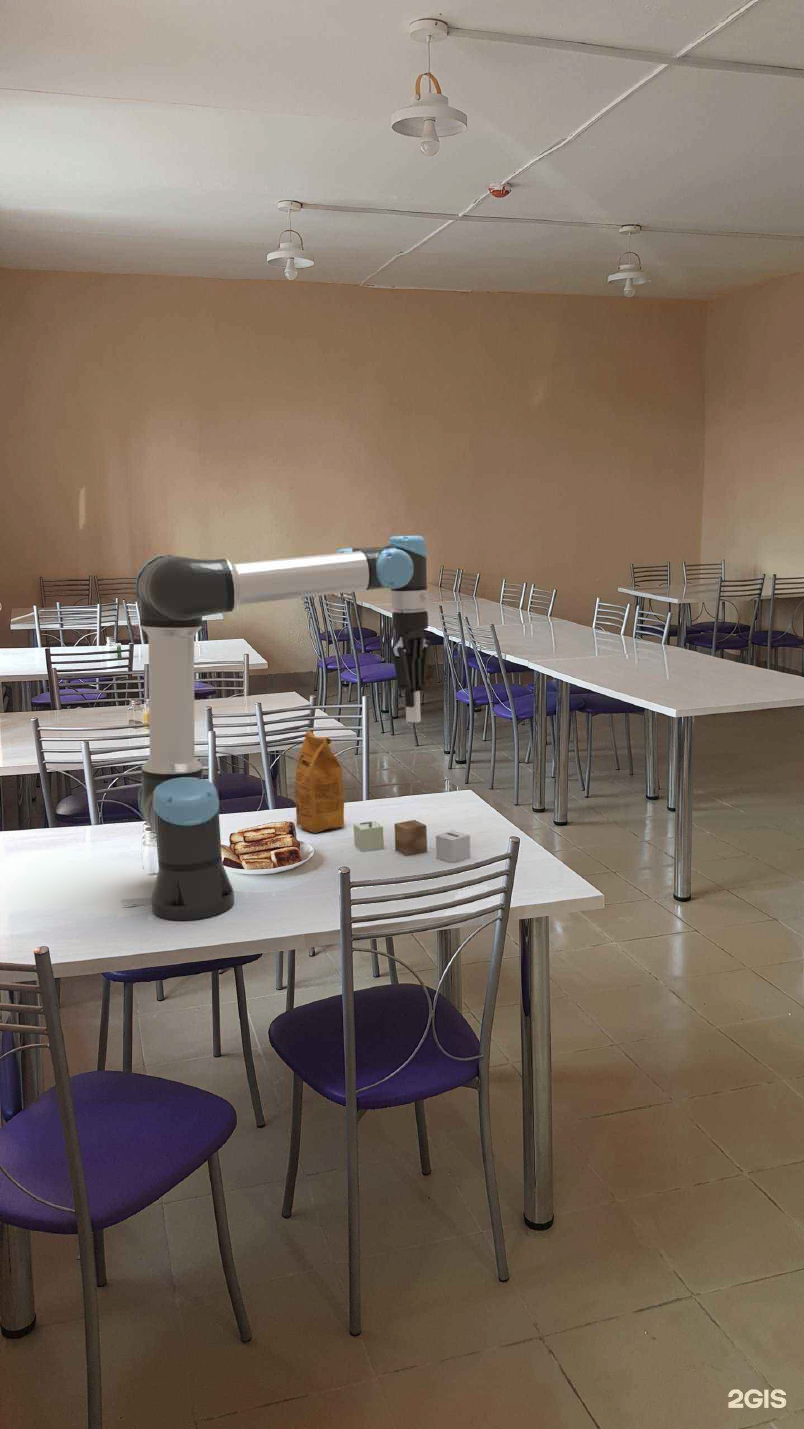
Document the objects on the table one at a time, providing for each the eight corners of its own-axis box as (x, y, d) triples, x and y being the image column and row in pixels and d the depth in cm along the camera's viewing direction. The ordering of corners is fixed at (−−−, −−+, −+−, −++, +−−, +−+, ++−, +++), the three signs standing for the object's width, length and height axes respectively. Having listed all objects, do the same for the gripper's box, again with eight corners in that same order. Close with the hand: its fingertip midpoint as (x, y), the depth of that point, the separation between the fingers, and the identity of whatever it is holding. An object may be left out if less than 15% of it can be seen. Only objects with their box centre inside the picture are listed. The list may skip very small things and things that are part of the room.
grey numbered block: (452, 863, 218) (452, 839, 217) (436, 858, 222) (435, 834, 221) (470, 858, 221) (469, 834, 220) (454, 852, 225) (453, 829, 224)
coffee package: (329, 816, 256) (325, 727, 252) (349, 829, 245) (345, 735, 241) (290, 822, 252) (285, 731, 248) (309, 836, 240) (304, 741, 236)
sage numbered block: (361, 852, 228) (360, 829, 227) (354, 845, 232) (353, 823, 231) (383, 848, 230) (382, 825, 229) (375, 842, 234) (375, 820, 233)
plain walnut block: (406, 856, 224) (405, 829, 223) (395, 850, 228) (394, 823, 227) (427, 852, 226) (426, 825, 225) (415, 846, 230) (414, 819, 229)
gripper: (409, 613, 214) (412, 728, 218) (440, 608, 225) (443, 717, 229) (377, 613, 218) (382, 725, 222) (410, 607, 229) (414, 714, 233)
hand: (413, 721), depth 226 cm, fingers closed
